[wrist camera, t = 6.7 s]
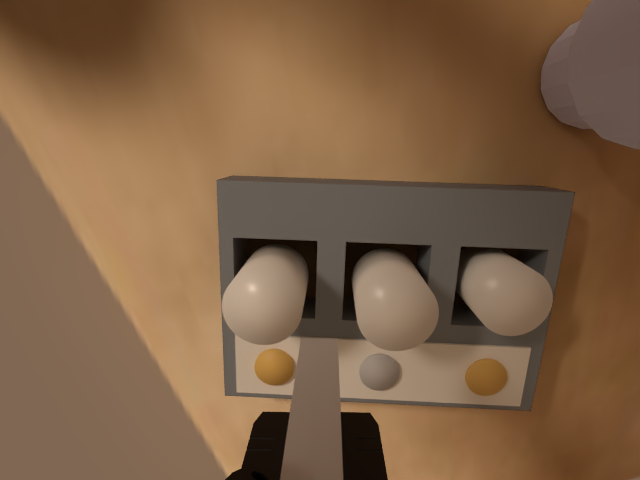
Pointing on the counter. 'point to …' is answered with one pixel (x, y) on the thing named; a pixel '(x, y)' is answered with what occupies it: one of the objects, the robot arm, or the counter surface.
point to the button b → (392, 301)
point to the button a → (267, 295)
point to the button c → (502, 291)
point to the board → (432, 263)
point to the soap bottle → (598, 72)
